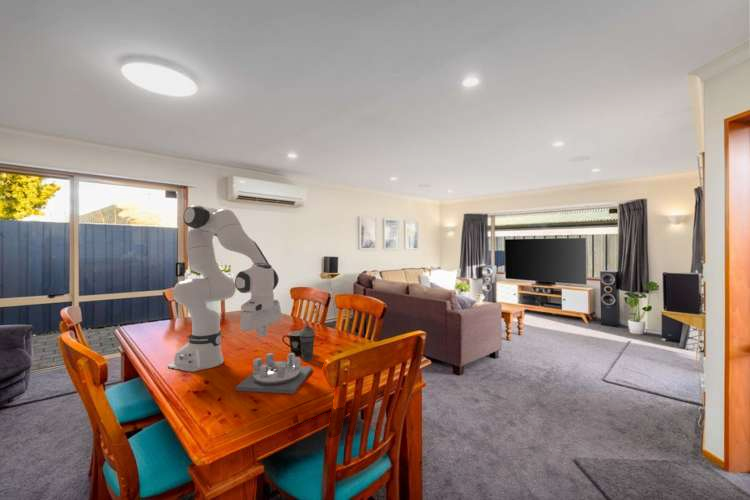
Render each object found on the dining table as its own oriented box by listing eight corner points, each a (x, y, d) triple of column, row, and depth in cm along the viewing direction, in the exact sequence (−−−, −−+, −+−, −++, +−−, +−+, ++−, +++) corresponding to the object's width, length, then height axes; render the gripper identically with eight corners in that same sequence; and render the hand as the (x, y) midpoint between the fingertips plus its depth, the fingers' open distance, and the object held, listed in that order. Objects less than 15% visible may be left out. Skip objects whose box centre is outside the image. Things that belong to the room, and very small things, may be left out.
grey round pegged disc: (277, 389, 115) (277, 371, 115) (242, 380, 123) (241, 363, 123) (309, 371, 132) (309, 355, 132) (276, 364, 140) (276, 349, 140)
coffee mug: (310, 352, 160) (310, 332, 160) (297, 357, 153) (297, 336, 153) (293, 348, 167) (293, 329, 166) (281, 353, 159) (280, 333, 159)
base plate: (236, 390, 118) (236, 386, 118) (263, 368, 140) (263, 364, 140) (293, 393, 115) (293, 389, 115) (311, 370, 137) (311, 366, 137)
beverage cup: (311, 363, 146) (311, 319, 145) (296, 361, 147) (296, 318, 147) (317, 357, 153) (317, 316, 152) (303, 356, 154) (303, 315, 154)
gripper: (273, 298, 140) (272, 329, 141) (237, 306, 121) (237, 342, 122) (284, 299, 138) (284, 331, 139) (250, 308, 119) (250, 345, 119)
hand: (262, 336), depth 130 cm, fingers closed
